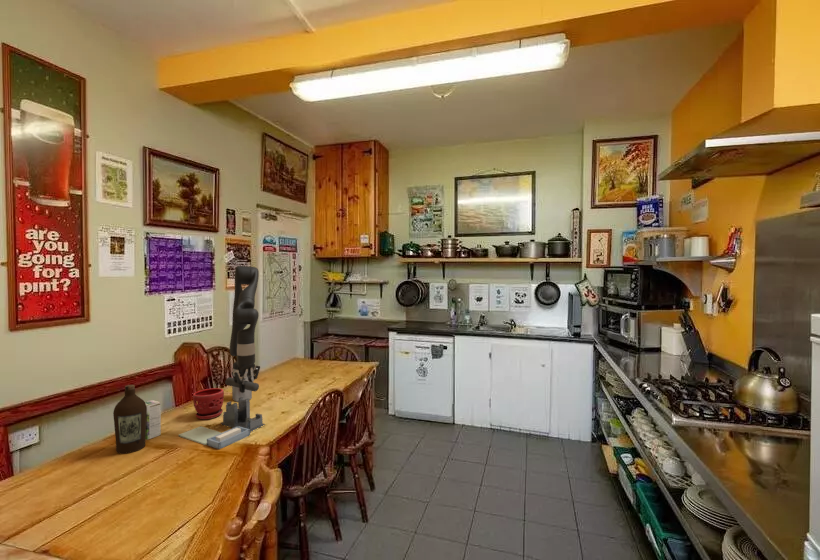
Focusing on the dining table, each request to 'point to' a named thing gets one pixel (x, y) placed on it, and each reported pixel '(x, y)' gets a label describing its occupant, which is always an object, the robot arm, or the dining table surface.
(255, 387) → the dark grey cylinder
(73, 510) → the dining table surface
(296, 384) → the dining table surface
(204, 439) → the mat
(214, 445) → the tray
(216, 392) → the plant pot
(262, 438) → the dining table surface
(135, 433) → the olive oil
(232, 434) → the bar
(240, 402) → the clamp rack
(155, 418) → the syrup box
